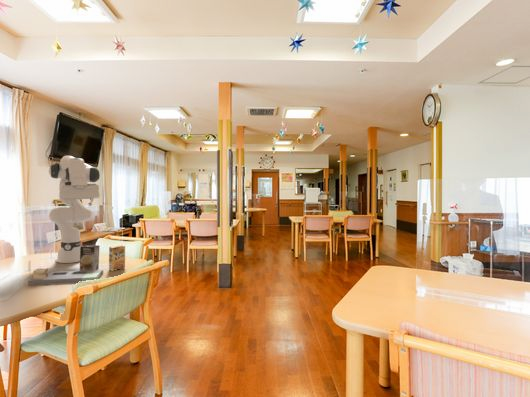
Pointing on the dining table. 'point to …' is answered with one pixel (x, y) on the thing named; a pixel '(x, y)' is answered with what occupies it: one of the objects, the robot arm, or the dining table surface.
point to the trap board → (67, 277)
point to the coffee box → (89, 257)
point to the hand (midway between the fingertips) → (81, 206)
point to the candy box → (116, 257)
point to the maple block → (40, 273)
